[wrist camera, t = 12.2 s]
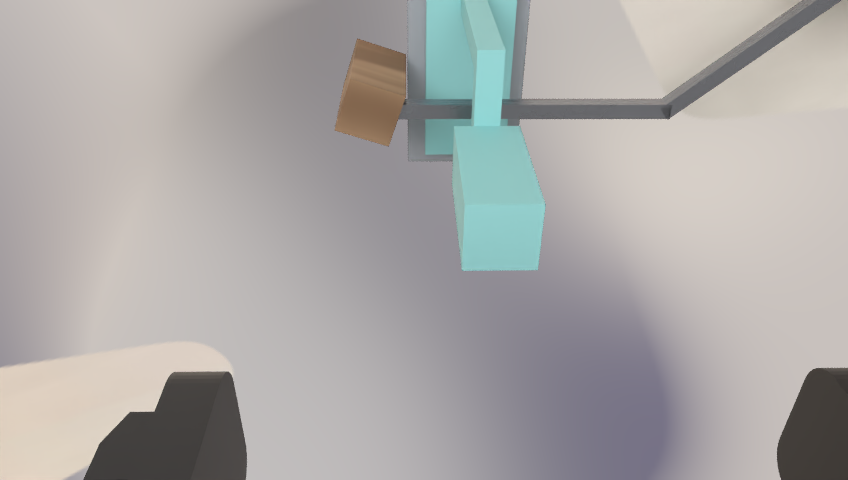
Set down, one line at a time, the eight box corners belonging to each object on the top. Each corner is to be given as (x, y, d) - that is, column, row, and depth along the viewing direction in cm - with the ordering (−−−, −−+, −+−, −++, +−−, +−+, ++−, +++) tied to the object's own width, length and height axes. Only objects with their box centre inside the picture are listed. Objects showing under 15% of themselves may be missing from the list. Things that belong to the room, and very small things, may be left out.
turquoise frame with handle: (515, -16, 39) (585, 116, 24) (502, 145, 45) (553, 337, 30) (426, -16, 39) (439, 116, 24) (424, 146, 45) (435, 338, 30)
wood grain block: (329, 46, 41) (317, 88, 36) (859, -116, 37) (938, -98, 32) (353, 110, 44) (345, 158, 38) (856, -37, 40) (929, -6, 34)
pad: (532, -34, 39) (533, -33, 39) (515, 158, 46) (515, 160, 46) (407, -35, 39) (407, -34, 39) (408, 159, 46) (408, 161, 45)
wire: (362, 99, 37) (361, 105, 37) (883, -54, 34) (892, -50, 33) (394, 187, 40) (394, 194, 40) (876, 55, 37) (885, 60, 36)
